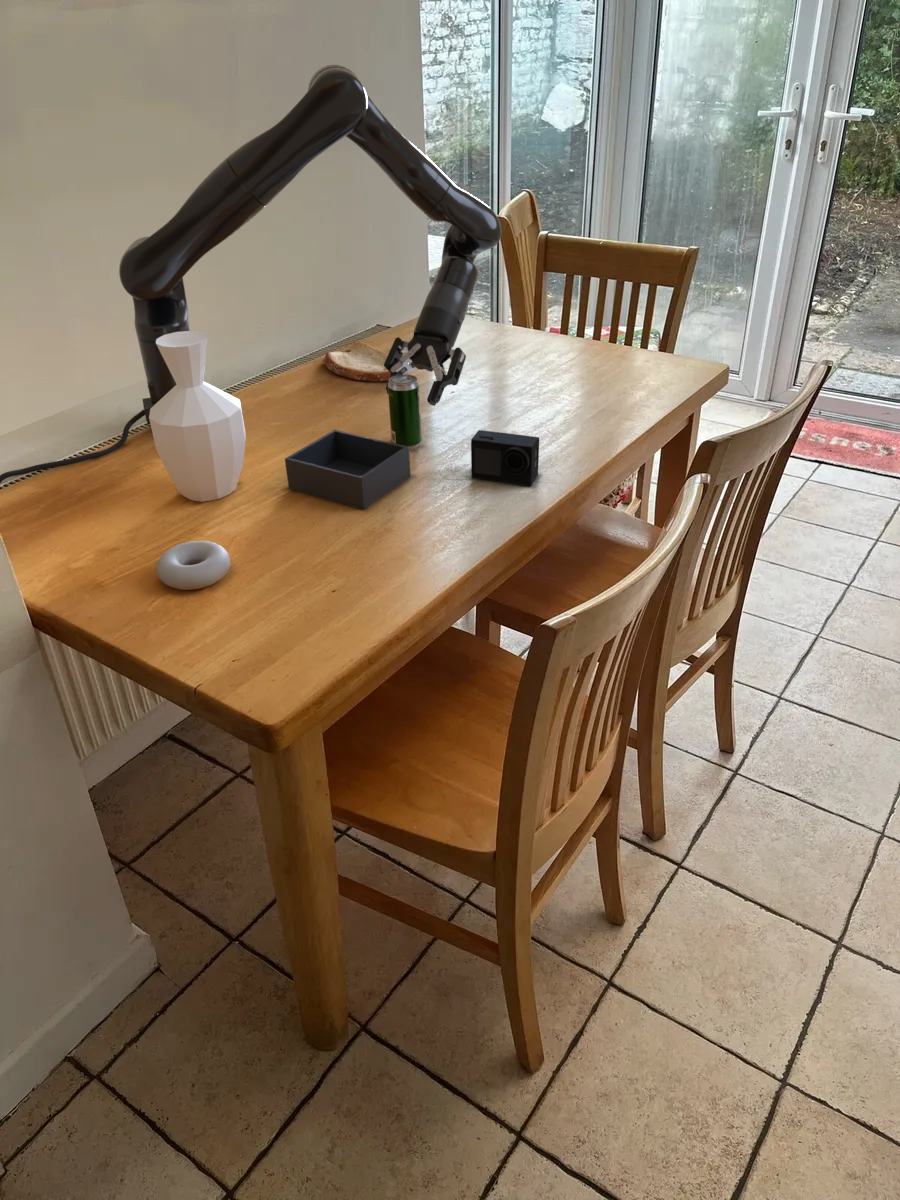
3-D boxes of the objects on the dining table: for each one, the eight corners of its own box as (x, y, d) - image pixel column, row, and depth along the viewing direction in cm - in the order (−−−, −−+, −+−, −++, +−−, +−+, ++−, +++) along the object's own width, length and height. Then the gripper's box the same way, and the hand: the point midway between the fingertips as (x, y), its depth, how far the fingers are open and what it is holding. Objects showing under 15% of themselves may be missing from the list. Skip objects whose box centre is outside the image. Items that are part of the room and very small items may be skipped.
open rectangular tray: (364, 509, 139) (361, 478, 136) (288, 488, 146) (284, 458, 143) (410, 476, 149) (408, 446, 146) (337, 458, 155) (334, 429, 152)
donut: (236, 555, 129) (165, 558, 129) (232, 534, 127) (161, 537, 127) (227, 593, 121) (152, 596, 120) (223, 571, 119) (147, 575, 118)
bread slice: (403, 381, 186) (402, 364, 184) (317, 383, 186) (315, 366, 184) (407, 353, 201) (406, 336, 198) (328, 355, 201) (326, 338, 199)
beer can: (401, 453, 156) (397, 387, 150) (386, 443, 160) (381, 378, 153) (427, 445, 159) (424, 380, 152) (411, 435, 163) (408, 371, 156)
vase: (178, 518, 139) (143, 361, 125) (157, 482, 149) (123, 334, 135) (266, 497, 144) (242, 343, 130) (240, 464, 154) (216, 319, 140)
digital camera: (468, 481, 147) (467, 442, 143) (478, 467, 151) (478, 429, 147) (529, 490, 144) (530, 450, 140) (538, 475, 148) (539, 436, 144)
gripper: (399, 299, 158) (367, 383, 156) (469, 309, 151) (436, 396, 150) (417, 321, 164) (386, 401, 163) (484, 332, 158) (453, 415, 156)
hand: (410, 399), depth 156 cm, fingers open, 8 cm apart
